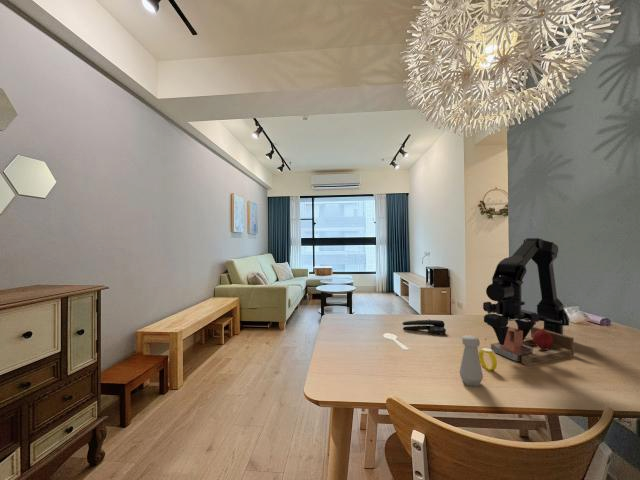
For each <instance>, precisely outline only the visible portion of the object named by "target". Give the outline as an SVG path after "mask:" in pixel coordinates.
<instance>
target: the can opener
mask: <svg viewBox="0 0 640 480" xmlns="http://www.w3.org/2000/svg"><path fill="white" fill-rule="evenodd" d="M402 326H403V328H402V329H403V330H404V331H412V332H413V331H414V332H415V331H428V333H429V334H431V335H436V336H441V335H444V334H446V331H447V329H446V328H445V321H444V320H437V319H436V320H435V319H429V318H428V319H422V320H421V319H420V320H419V319H418V320H407V321H403V322H402Z"/></svg>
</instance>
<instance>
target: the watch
mask: <svg viewBox="0 0 640 480" xmlns="http://www.w3.org/2000/svg"><path fill="white" fill-rule="evenodd" d="M478 354H479V359H480V364H481V368H482V367H483V368H484V369H486V370H488V371H490V372H491V371H494V370H496V369H497V366H498V364H497V363H498V362H497V358H496V356H495V354H494V352H493V350H492V349H491V348H488V347H483V348H482V349H481V350H480V351H478ZM484 354H488V355H489V357H490V359H491V364H492V366H491V367H490V366H488V365H487V364H486V362H485V359H484Z"/></svg>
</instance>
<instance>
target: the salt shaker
mask: <svg viewBox="0 0 640 480" xmlns="http://www.w3.org/2000/svg"><path fill="white" fill-rule="evenodd" d="M461 340H462V341H461V342H462V345H464V348H463V353H462V358H461V361H460V367H459V371H458V372H459V377H460V379H461V380H462V383H464V384H465V385H467V386H471V387H475V388H476V387H478V386H480V384H481V383H482V381H483V378H484V375H483V370H482V365H481V363H480V359H479V350H478V349H479V348H478V347H479V346H480V339H479V338H478V337H476V336H474V335H469V334H468V335H467V334H466V335H463V336H462V338H461Z"/></svg>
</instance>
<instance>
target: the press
mask: <svg viewBox="0 0 640 480" xmlns="http://www.w3.org/2000/svg"><path fill="white" fill-rule="evenodd" d="M507 327H509V328H508V331H507V335H506V338H505V342H504V344H503V345H501V344H500V345H496V346H494V350H493V353H497V354H498V355H501V356H503V357H505V358H508V359H509V360H513V361H515V362H522V359H521V356H524V355H529V354H534V347H532V346H530V345H529V346H526V345H523V331H522V330H519V329H518V328H515V327H512V326H509V325H507Z"/></svg>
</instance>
